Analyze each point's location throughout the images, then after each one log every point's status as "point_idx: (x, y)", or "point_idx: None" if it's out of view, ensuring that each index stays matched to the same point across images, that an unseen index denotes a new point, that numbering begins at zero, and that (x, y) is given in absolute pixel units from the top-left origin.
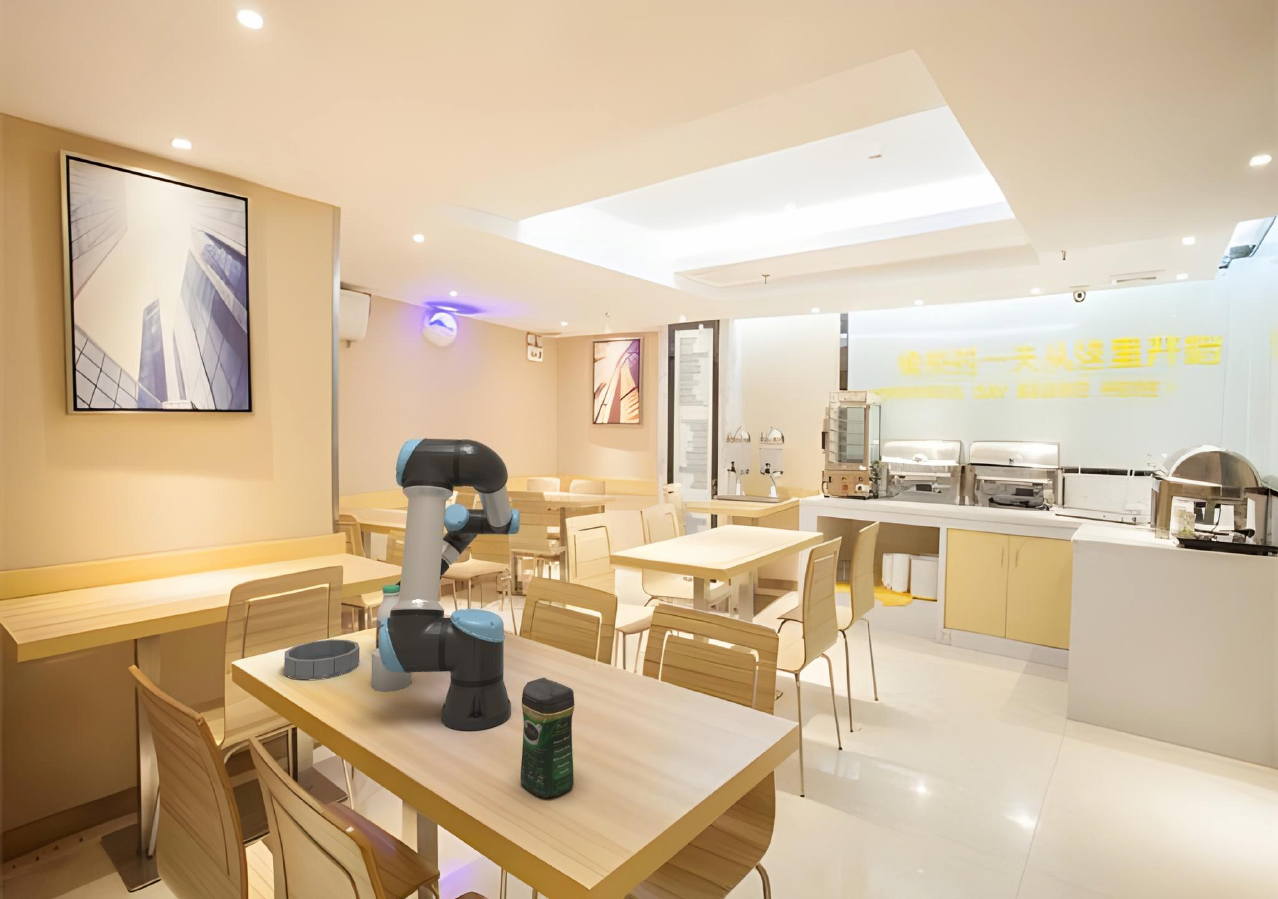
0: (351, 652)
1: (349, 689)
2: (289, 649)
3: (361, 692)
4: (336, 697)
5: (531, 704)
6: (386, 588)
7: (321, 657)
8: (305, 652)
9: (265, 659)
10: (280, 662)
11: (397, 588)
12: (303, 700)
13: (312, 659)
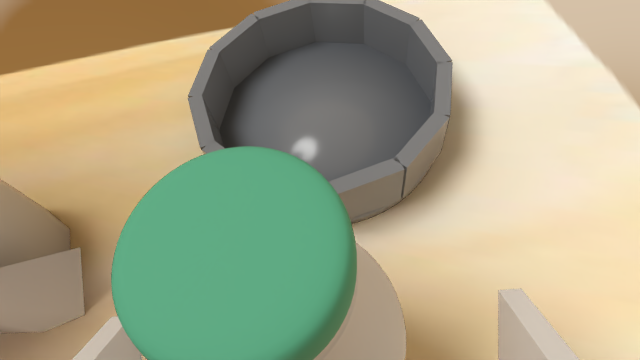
0: (210, 151)
1: (84, 156)
2: (388, 5)
3: (34, 177)
4: (59, 122)
5: None
6: (174, 169)
7: (404, 121)
8: (419, 66)
9: (512, 13)
10: (458, 41)
11: (118, 315)
12: (107, 64)
13: (397, 97)
